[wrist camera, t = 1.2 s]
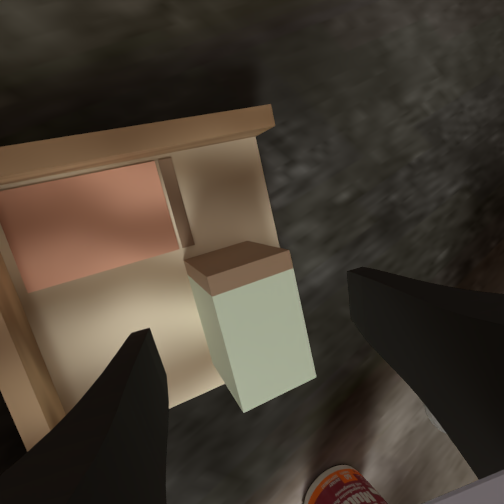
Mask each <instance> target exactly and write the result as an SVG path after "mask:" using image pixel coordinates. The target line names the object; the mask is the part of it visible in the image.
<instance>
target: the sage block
mask: <svg viewBox="0 0 504 504" xmlns="http://www.w3.org/2000/svg"><path fill="white" fill-rule="evenodd" d="M184 264H185V267H186V271H187V275H188V278H189V282H190V285H191V289H192V292H193V296H194V299H195V303H196V306H197V310H198V313H199V317H200V320H201V324H202V327H203V331H204V334H205V338H206V341H207V345H208V348H209V352H210V355H211V359H212V363H213V365H214V366H215V368H216V370H217V371H218V373H219V374H220V376H221V378H222V379H223V381H224V382H225V384H226V386H227V387H228V389H229V390H230V392H231V394H232V395H233V397H234V398H235V400H236V402H237V403H238V405H239V406H240V408H241V409H242V411H243V413H244V412H246V411H248V410H251V409H253V408H255V407H257V406H259V405H261V404H263V403H265V402H267V401H269V400H271V399H273V398H275V397H277V396H279V395H281V394H283V393H285V392H287V391H289V390H291V389H293V388H295V387H297V386H299V385H301V384H304V383H306V382H308V381H310V380H312V379H314V378H316V373H315V368H314V364H313V359H312V354H311V350H310V345H309V340H308V336H307V331H306V326H305V322H304V317H303V312H302V307H301V303H300V298H299V293H298V289H297V284H296V279H295V275H294V270H293V265H292V260H291V256H290V251H289V250H287V249H282V248H278V247H274V246H269V245H265V244H260V243H256V242H251V241H244V242H241V243H238V244H235V245H231V246H228V247H225V248H221V249H218V250H215V251H211V252H208V253H205V254H202V255H198V256H195V257H192V258H188V259H185V260H184Z"/></svg>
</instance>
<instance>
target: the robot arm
mask: <svg viewBox="0 0 504 504" xmlns="http://www.w3.org/2000/svg"><path fill="white" fill-rule="evenodd" d="M347 279H348V291H349V304H350V316H351V319H352V321H353V322H354V324H355V325H356V327H357V328H358V330H359V331H360V332H361V334H362V335H363V337H364V338H365V339H366V340H367V341H368V343H369V344H370V345H371V346H372V347H373V348H374V349H375V350H376V351H377V352H378V353H379V354H380V355H381V357H382V358H383V359H384V360H385V361H386V362H387V363H388V364H389V365H390V366H391V367H392V368H393V369H394V370H395V371H396V372H397V373H398V374H399V375H400V376H401V378H402V379H403V380H404V381H405V382H406V383H407V384H408V385H409V386H410V387H411V388H412V390H413V391H414V392H415V393H416V394H417V395H418V397H419V398H420V399H421V400H422V402H423V403H424V404H425V406H426V407H427V408H428V409H429V411H430V412H431V413H432V415H433V416H434V417H435V418H436V420H437V421H438V422H439V424H440V425H441V427H442V428H443V429H444V431H445V432H446V433H447V435H448V436H449V437H450V439H451V440H452V442H453V443H454V444H455V446H456V447H457V448H458V450H459V451H460V453H461V454H462V456H463V457H464V459H465V460H466V461H467V463H468V464H469V466H470V467H471V469H472V470H473V472H474V473H475V474H476V476H477V477H478V479H479V480H477V481H475V482H473V483H470V484H468V485H465V486H463V487H461V488H458V489H456V490H453V491H451V492H448V493H446V494H444V495H441V496H439V497H436V498H434V499H432V500H429V501H427V502H424V503H422V504H504V294H497V293H487V292H480V291H472V290H465V289H459V288H453V287H448V286H443V285H438V284H433V283H428V282H424V281H420V280H416V279H411V278H408V277H404V276H400V275H396V274H392V273H388V272H384V271H380V270H376V269H371V268H366V267H360V268H357V269H353V270H350V271H347ZM168 414H169V396H168V384H167V374H166V372H165V369H164V366H163V363H162V360H161V358H160V355H159V352H158V349H157V347H156V344H155V341H154V338H153V335H152V333H151V330H150V328H146V329H143V330H139V331H136V332H132V333H131V334H130V335H129V336H128V338H127V339H126V340H125V342H124V343H123V345H122V346H121V348H120V349H119V350H118V352H117V353H116V355H115V356H114V357H113V359H112V360H111V361H110V363H109V364H108V365H107V367H106V368H105V370H104V371H103V372H102V374H101V375H100V376H99V377H98V379H97V380H96V381H95V382H94V383H93V385H92V386H91V387H90V388H89V390H88V391H87V392H86V393H85V394H84V396H83V397H82V398H81V399H80V400H79V402H78V403H77V404H76V405H75V406H74V407H73V408H72V409H71V410H70V411H69V412H68V413H67V415H66V416H65V417H64V418H63V419H62V420H61V421H60V422H59V423H58V424H57V425H56V426H55V427H54V428H53V429H52V430H51V431H50V432H49V433H48V434H46V435H45V436H44V437H43V438H42V439H41V440H40V441H39V442H38V443H37V444H35V445H34V446H33V447H32V448H31V449H30V450H29V451H28V452H27V453H26V454H25V455H23V456H22V457H21V458H20V459H19V460H18V461H17V462H15V463H14V464H13V465H12V466H11V467H9V468H8V469H7V470H6V471H5V472H3V473H2V474H1V475H0V504H166V453H167V434H168Z"/></svg>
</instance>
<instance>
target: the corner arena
mask: <svg viewBox="0 0 504 504" xmlns="http://www.w3.org/2000/svg"><path fill="white" fill-rule="evenodd" d="M274 126H275V122H274V118H273V113H272V108H271V104H269V105H262V106H256V107H250V108H243V109H237V110H231V111H224V112H218V113H212V114H205V115H199V116H193V117H186V118H180V119H174V120H167V121H161V122H155V123H148V124H142V125H136V126H129V127H123V128H117V129H110V130H104V131H98V132H91V133H85V134H79V135H72V136H66V137H60V138H53V139H47V140H41V141H34V142H28V143H22V144H15V145H9V146H3V147H0V391H1V393H2V395H3V398H4V400H5V402H6V404H7V407H8V409H9V411H10V413H11V416H12V418H13V420H14V422H15V425H16V427H17V429H18V431H19V434H20V436H21V438H22V440H23V443H24V445H25V447H26V450H27V452H28V451H29V450H30V449H31V448H32V447H33V446H34V445H35V444H37V443H38V442H39V441H40V440H41V439H42V438H43V437H44V436H45V435H46V434H48V433H49V432H50V431H51V430H52V429H53V428H54V427H55V426H56V425H57V424H58V423H59V422H60V421H61V420H62V419H63V418H64V417H65V416H66V415H67V413H68V412H69V411H70V410H71V409H72V408H73V407H74V406H75V405H76V404H77V403H78V402H79V400H80V399H81V398H82V397H83V396H84V394H85V393H86V392H87V391H88V390H89V388H90V387H91V386H92V385H93V383H94V382H95V381H96V380H97V379H98V377H99V376H100V375H101V374H102V372H103V371H104V370H105V368H106V367H107V365H108V364H109V363H110V361H111V360H112V359H113V357H114V356H115V355H116V353H117V352H118V350H119V349H120V348H121V346H122V345H123V343H124V342H125V340H126V339H127V338H128V336H129V335H130V334H131V333H132V332H136V331H139V330H143V329H146V328H150V330H151V333H152V335H153V338H154V341H155V344H156V347H157V349H158V352H159V355H160V358H161V360H162V363H163V366H164V369H165V372H166V374H167V384H168V396H169V408H172V407H174V406H176V405H178V404H181V403H183V402H185V401H187V400H190V399H192V398H194V397H196V396H198V395H201V394H203V393H205V392H207V391H210V390H212V389H214V388H216V387H218V386H221V385H223V384H225V382H224V381H223V379H222V378H221V376H220V374H219V373H218V371H217V370H216V368H215V366H214V365H213V363H212V359H211V355H210V352H209V348H208V345H207V341H206V338H205V334H204V331H203V327H202V324H201V320H200V317H199V313H198V310H197V306H196V303H195V299H194V296H193V292H192V289H191V285H190V282H189V278H188V275H187V271H186V267H185V264H184V260H185V259H188V258H192V257H195V256H198V255H202V254H205V253H208V252H211V251H215V250H218V249H221V248H225V247H228V246H231V245H235V244H238V243H241V242H244V241H251V242H256V243H260V244H265V245H269V246H274V247H278V248H280V247H279V242H278V238H277V233H276V228H275V224H274V219H273V215H272V210H271V206H270V201H269V196H268V192H267V187H266V183H265V178H264V174H263V169H262V165H261V160H260V155H259V151H258V146H257V142H256V137H255V136H257V135H259V134H261V133H263V132H265V131H266V130H268V129H270V128H272V127H274Z"/></svg>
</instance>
